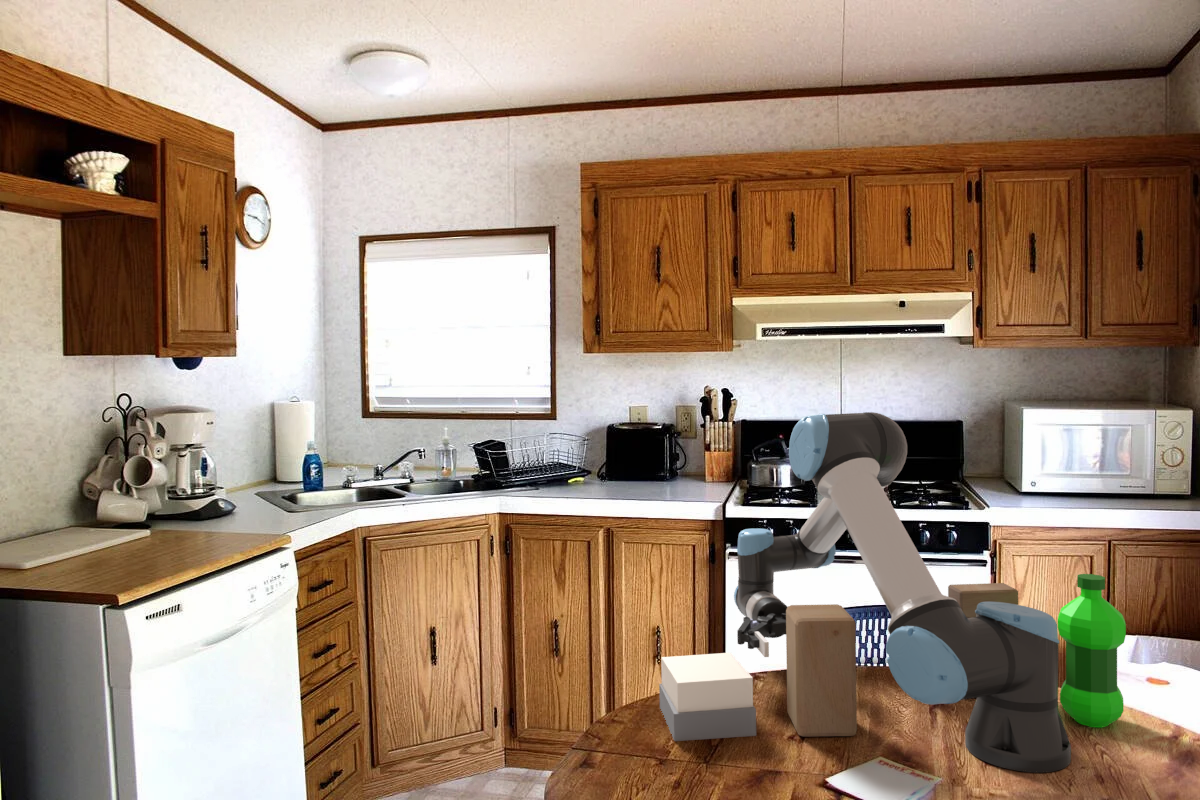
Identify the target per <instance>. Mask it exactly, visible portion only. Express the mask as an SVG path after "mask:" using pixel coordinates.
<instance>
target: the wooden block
mask: <svg viewBox="0 0 1200 800" xmlns="http://www.w3.org/2000/svg"><path fill="white" fill-rule="evenodd" d="M856 624H857V623H856V621H855V619H854V618H853V616H851V615H850V614H849V612H848V611H847V610H846V608H844V607H843V606H842V605H840V604H839V603H838V604H791V605H789V606H787V610H786V635H785V637H786V641H785V644H786V702H787V703H786V705H787V706H786V709H787V710H786V711H787V714H788V716H789V718H790V720H791V723H792V725H793V726H794V729H795V730H796V732H797V735H798V736H801V737H804V738H806V737H853V736H855V735H856V734H857V731H858V727H857V725H858V724H857V723H858V722H857V721H858V719H857V717H858V716H857V715H858V714H857V713H858V712H857V710H858V709H857V707H858V706H857V641H856V640H857V639H856V638H857V632H856V628H857V627H856V626H857V625H856Z"/></svg>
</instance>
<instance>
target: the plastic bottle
mask: <svg viewBox="0 0 1200 800" xmlns="http://www.w3.org/2000/svg"><path fill="white" fill-rule="evenodd" d="M1076 579H1077V585H1076V587H1077V588H1080V595H1078V596H1077V597H1075V598H1074V599H1072V600H1070V601H1069V602H1067V604H1065V605H1063V606H1062V607H1061V608H1060V610H1059V613H1058V616H1057V632H1058V634H1059V635H1058V636H1060V637H1061V638H1062V639H1063V640H1064V642H1065V680H1064V681H1063V683H1062V685H1061V688H1060V691H1059V692H1060V693H1059V701H1060V704H1061V706H1062V708H1063V710H1064V711H1065V713H1066V714H1068V715H1069V716H1070V717H1072V718H1073V719H1074V721H1075V722H1077V723H1078V724H1080V725H1083V726H1087V727H1090V728H1098V729H1099V728H1105V727H1108V726H1109V725H1111V724H1112V723H1114V722H1116V721H1118V720H1119V719H1120V718H1121V717H1122V715H1123V713H1124V697H1123V694H1122V692H1121V690H1120V688H1119V686H1118V648H1119V647H1120V646H1122V645H1123V644H1124V643H1125V639H1126V634H1127V633H1126V632H1127V631H1126V630H1127V629H1126V627H1127V626H1126V625H1127V624H1126V621H1125V617H1124V615H1123V614H1122V612H1120V611H1119V610H1118V609H1117V608H1116V607H1115V606H1114V605H1112V604H1111V603H1110V602H1108V601H1107V600H1106V599H1105V598H1104V597H1102V595H1103V594H1102V592H1103V591H1105V590H1106V577H1105V576H1104V575H1103V576H1102V575H1099V574H1092V573H1081V574H1077V578H1076Z"/></svg>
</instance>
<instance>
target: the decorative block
mask: <svg viewBox="0 0 1200 800" xmlns="http://www.w3.org/2000/svg"><path fill="white" fill-rule="evenodd" d="M947 596H948V597H951V598H954V599H956V600H957V602H958V604H959V605H960V607H961V609H962V611H963V613H964V614H965V616H966V617H967V618H972V617H976V613H975V610H976V609H977V605H978V604H979V603H981V602H1003V603H1010V604H1016V605H1019V590H1018V589H1016V588H1014V587H1013V586H1010V585H1008V584H1006V583H1005V582H996V583H995V582H994V583H993V582H992V583H989V582H988V583H972V584H971V583H965V584H964V583H963V584H961V583H960V584H957V583H956V584H949V585H948V586H947ZM975 699H977V697H976V698H975Z"/></svg>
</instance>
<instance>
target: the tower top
mask: <svg viewBox="0 0 1200 800" xmlns="http://www.w3.org/2000/svg"><path fill="white" fill-rule="evenodd" d="M660 658H661V659H660V660H661V661H660V663H661V667H660V668H661V684H662V686H663V687H664V689H665V691H666V693H667V694H668V696H669V698H670V700H671V701H672V703H673V705H674V707H675V708H676V710H677V712H692V711H705V710H718V709H731V708H743V707H753V706H754V683H753V680H754V679H753V676H752V675H751V674H750V673H749V671H747V669H746V668H745V667H744V666H743V665H742V664H741V663H740V661H739V660H738V659H737V658H736V657H735V656H734V654H733V653H732V652H720V653H719V652H718V653H702V654H690V655H676V656H674V655H673V656H662V657H660Z"/></svg>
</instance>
